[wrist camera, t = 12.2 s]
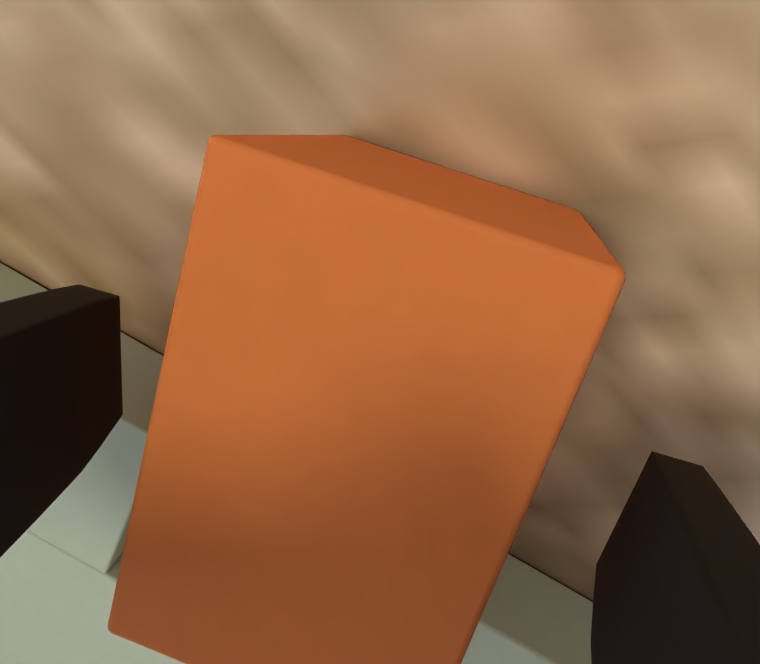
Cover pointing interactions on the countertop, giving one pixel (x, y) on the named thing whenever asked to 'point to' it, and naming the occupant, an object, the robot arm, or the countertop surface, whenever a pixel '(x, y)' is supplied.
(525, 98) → the countertop surface
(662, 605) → the robot arm
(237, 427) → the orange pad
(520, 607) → the grey tile
